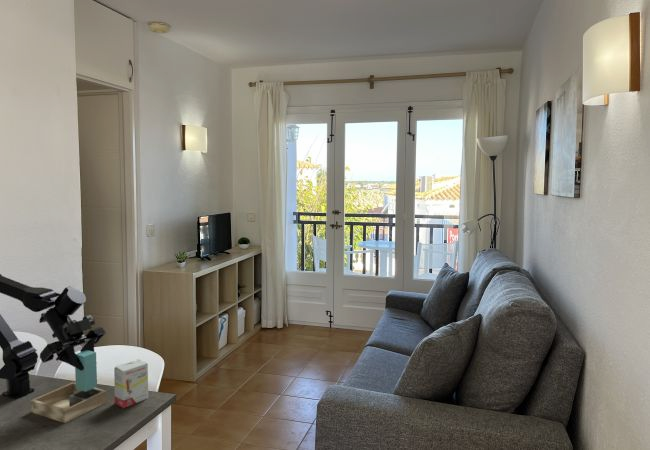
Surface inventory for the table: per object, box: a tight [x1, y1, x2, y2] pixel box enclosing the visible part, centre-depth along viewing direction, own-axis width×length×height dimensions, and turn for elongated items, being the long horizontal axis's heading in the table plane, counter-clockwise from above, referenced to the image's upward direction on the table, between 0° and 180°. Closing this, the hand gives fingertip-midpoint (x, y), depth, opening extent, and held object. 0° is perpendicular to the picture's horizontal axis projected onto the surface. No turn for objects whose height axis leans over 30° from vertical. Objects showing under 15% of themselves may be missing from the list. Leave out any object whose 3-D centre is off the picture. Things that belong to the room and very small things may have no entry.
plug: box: [74, 350, 98, 392], centre depth 145 cm, size 4×4×10 cm
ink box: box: [113, 359, 149, 409], centre depth 149 cm, size 9×5×12 cm, turn 143°
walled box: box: [30, 381, 108, 424], centre depth 145 cm, size 14×14×4 cm
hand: (89, 367), depth 144 cm, fingers closed on plug, 4 cm apart
